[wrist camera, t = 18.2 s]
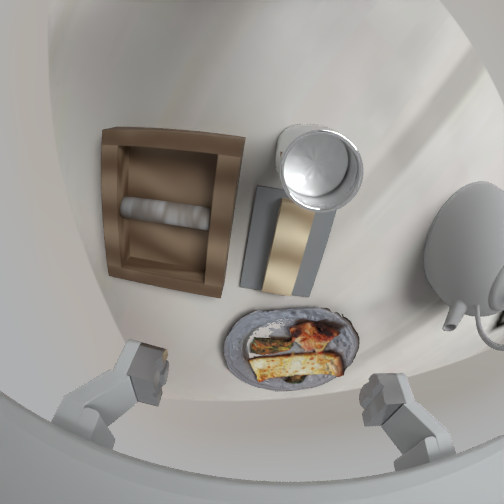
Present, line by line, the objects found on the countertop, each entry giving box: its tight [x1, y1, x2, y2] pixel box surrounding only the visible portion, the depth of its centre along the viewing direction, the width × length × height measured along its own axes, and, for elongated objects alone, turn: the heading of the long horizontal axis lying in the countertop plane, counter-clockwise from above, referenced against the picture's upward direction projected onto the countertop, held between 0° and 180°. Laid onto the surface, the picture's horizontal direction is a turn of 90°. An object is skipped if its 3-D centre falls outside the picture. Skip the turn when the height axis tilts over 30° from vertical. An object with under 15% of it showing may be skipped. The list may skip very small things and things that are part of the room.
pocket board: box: [101, 127, 246, 298], centre depth 36 cm, size 22×18×4 cm
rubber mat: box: [240, 185, 336, 297], centre depth 40 cm, size 16×11×1 cm
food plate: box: [223, 307, 359, 391], centre depth 49 cm, size 25×23×4 cm
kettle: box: [423, 181, 504, 351], centre depth 28 cm, size 25×23×22 cm
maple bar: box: [262, 197, 315, 296], centre depth 39 cm, size 14×4×2 cm, turn 170°
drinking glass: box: [275, 124, 363, 212], centre depth 26 cm, size 7×7×15 cm
